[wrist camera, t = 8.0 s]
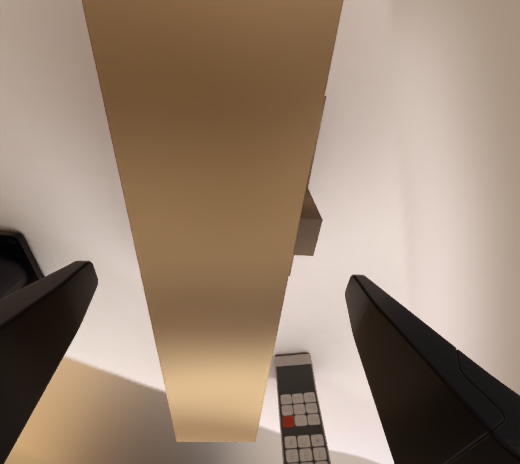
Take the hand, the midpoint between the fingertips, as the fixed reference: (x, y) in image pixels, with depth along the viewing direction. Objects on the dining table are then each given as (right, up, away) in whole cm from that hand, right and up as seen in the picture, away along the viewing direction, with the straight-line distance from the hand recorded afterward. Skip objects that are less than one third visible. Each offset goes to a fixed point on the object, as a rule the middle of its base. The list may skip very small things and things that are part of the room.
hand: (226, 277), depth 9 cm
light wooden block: (0, +2, +2) cm, 3 cm away
